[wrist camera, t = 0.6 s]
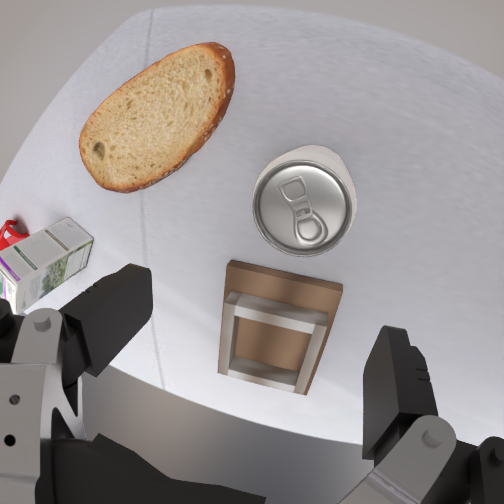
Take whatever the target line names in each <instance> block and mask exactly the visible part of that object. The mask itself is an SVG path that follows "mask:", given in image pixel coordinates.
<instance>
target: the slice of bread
mask: <svg viewBox="0 0 504 504" xmlns="http://www.w3.org/2000/svg"><path fill="white" fill-rule="evenodd" d="M234 83H235V66H234V61H233V59H232V56H231V53H230V51H229V50H228V49H227V48H226V47H224V46H222V45H220V44H218V43H216V42H209V43H201V44H196V45H192V46H190V47H186V48H183V49H181V50H179V51H177V52H174V53H171V54H169V55H167V56H166V57H165V58H163V59H162V60H160V61H158V62H155V63H154V64H152V65H151V66H150V67H148V68H147V69H145V70H143V71H142V72H140V73H139V74H138V75H136V76H134V77H133V78H131V79H130V80H129V81H127V82H126V83H124V84H123V85H122V86H121V87H120V88H119V89H117V90H116V91H115V92H114V93H112V94H111V95H110V96H109V97H108V98H107V99H105V100H104V101H103V102H102V104H101V105H100V106H99V107H98V108H97V110H96V111H95V112H94V113H92V114H91V116H90V117H89V119H88V120H87V122H86V123H85V125H84V126H83V129H82V131H81V133H80V138H79V149H80V155H81V158H82V161H83V163H84V165H85V167H86V169H87V170H88V172H89V173H90V174H91V176H92V177H93V179H94V180H95V181H96V183H97V184H98V185H99V186H101V187H102V188H104V189H107V190H110V191H115V192H120V193H131V192H134V191H137V190H141V189H145V188H147V187H149V186H151V185H153V184H155V183H157V182H159V181H160V180H162V179H163V178H165V177H167V176H169V175H170V174H171V173H173V172H175V171H177V170H179V168H180V167H181V166H182V165H183V164H184V163H185V161H186V160H187V159H188V157H189V156H191V155H192V154H194V153H195V152H197V151H198V150H199V149H200V148H201V147H202V146H203V145H204V143H205V142H206V141H207V140H208V139H209V138H210V136H211V135H212V133H213V132H214V131H215V129H216V128H217V126H218V125H219V123H220V122H221V120H222V119H223V117H224V115H225V113H226V110H227V108H228V105H229V103H230V100H231V96H232V94H233V90H234Z"/></svg>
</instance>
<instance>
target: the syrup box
mask: <svg viewBox="0 0 504 504" xmlns="http://www.w3.org/2000/svg"><path fill="white" fill-rule="evenodd" d="M92 243H93V238H92V237H91V236H90V235H89V234H88V233H87V232H86V231H85V230H84V229H82V228H81V227H80V226H79V225H78V224H77V223H75V222H74V221H73V220H72V219H71V218H70V217H69V218H66V219H64V220H62V221H60V222H57V223H55V224H53V225H51V226H49V227H47V228H45V229H43V230H41V231H39V232H37V233H35V234H33V235H31V236H29V237H27V238H25V239H23V240H21V241H19V242H17V243H15V244H13V245H11V246H9V247H7V248H5V249H3V250H2V251H0V298H3V299H6V300H8V301H9V303H10V305H11V308H12V312H13V314H15V315H19V314H21V313H22V312H23V311H25V310H26V309H27V308H29V307H30V306H31V305H33V304H34V303H36V302H37V301H38V300H40V299H41V298H42V297H44V296H45V295H47V294H48V293H49V292H51V291H52V290H54V289H55V288H56V287H58V286H59V285H61V284H62V283H64V282H65V281H66V280H68V279H69V278H71V277H72V276H74V275H75V274H76V273H78V272H80V271H81V270H82V269H84V268H85V267H86V265H87V261H88V257H89V253H90V250H91V246H92Z"/></svg>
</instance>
